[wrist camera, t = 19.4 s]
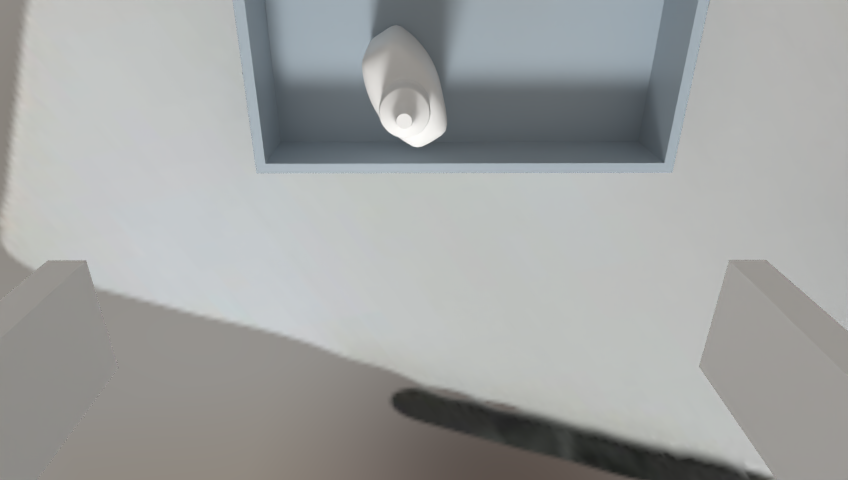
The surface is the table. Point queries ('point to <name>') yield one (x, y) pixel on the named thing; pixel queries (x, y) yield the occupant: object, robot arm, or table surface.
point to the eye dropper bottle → (404, 87)
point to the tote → (474, 84)
